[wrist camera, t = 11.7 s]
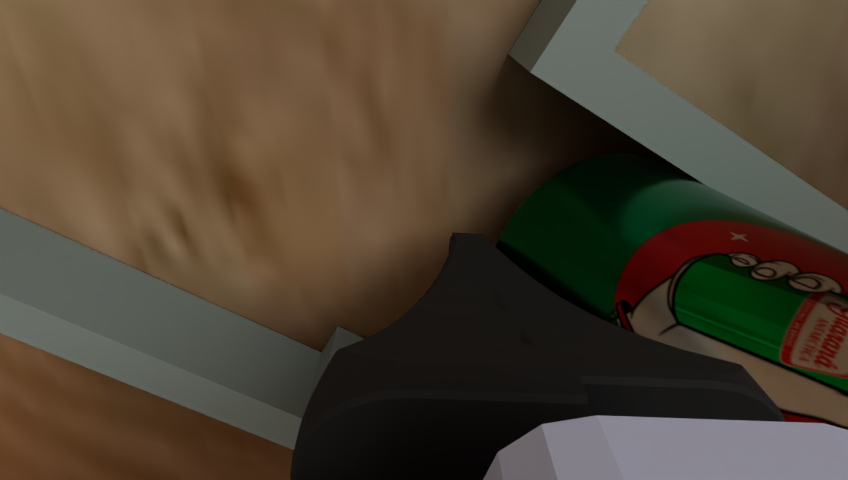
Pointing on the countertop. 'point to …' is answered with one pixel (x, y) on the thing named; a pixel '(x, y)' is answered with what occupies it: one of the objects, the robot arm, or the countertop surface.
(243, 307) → the countertop surface
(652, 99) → the corral
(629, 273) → the soda can
